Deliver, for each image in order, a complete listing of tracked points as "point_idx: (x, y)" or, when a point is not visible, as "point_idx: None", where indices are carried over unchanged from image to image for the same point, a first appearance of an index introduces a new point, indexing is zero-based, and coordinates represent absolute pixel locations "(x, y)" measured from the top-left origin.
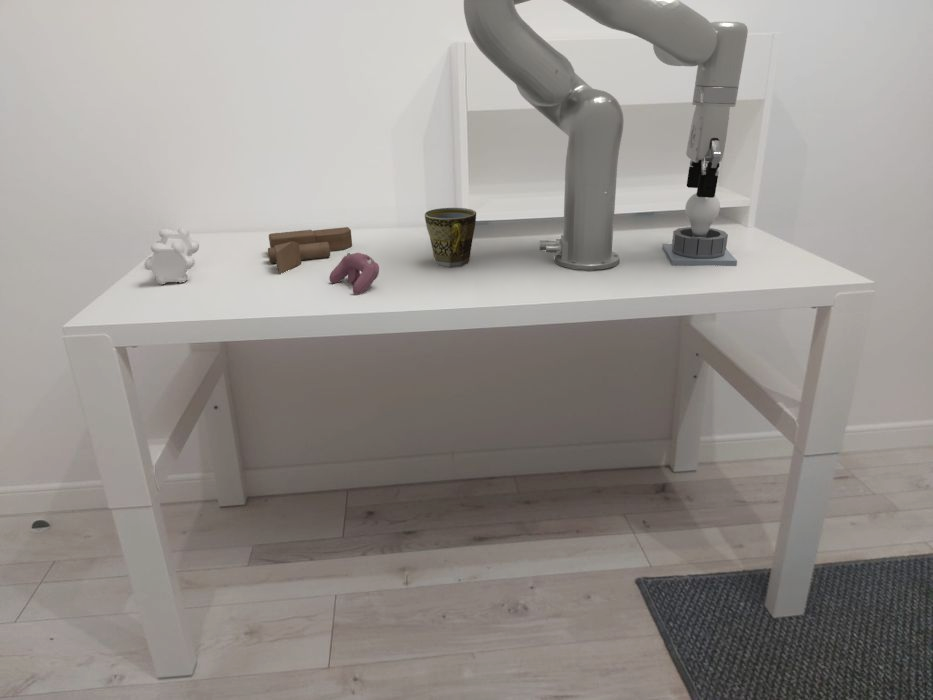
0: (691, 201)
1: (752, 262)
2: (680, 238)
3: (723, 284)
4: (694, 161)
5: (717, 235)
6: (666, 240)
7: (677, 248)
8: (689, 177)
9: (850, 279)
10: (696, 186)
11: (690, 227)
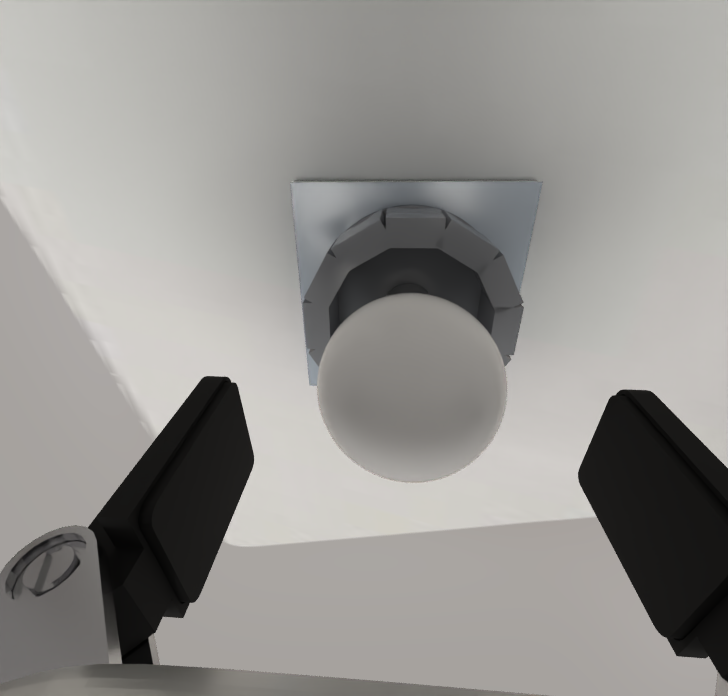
0: (370, 342)
1: None
2: (351, 234)
3: (130, 304)
4: (69, 677)
5: None
6: (664, 222)
7: (366, 219)
8: (662, 454)
9: (244, 535)
10: (595, 448)
11: (512, 311)
